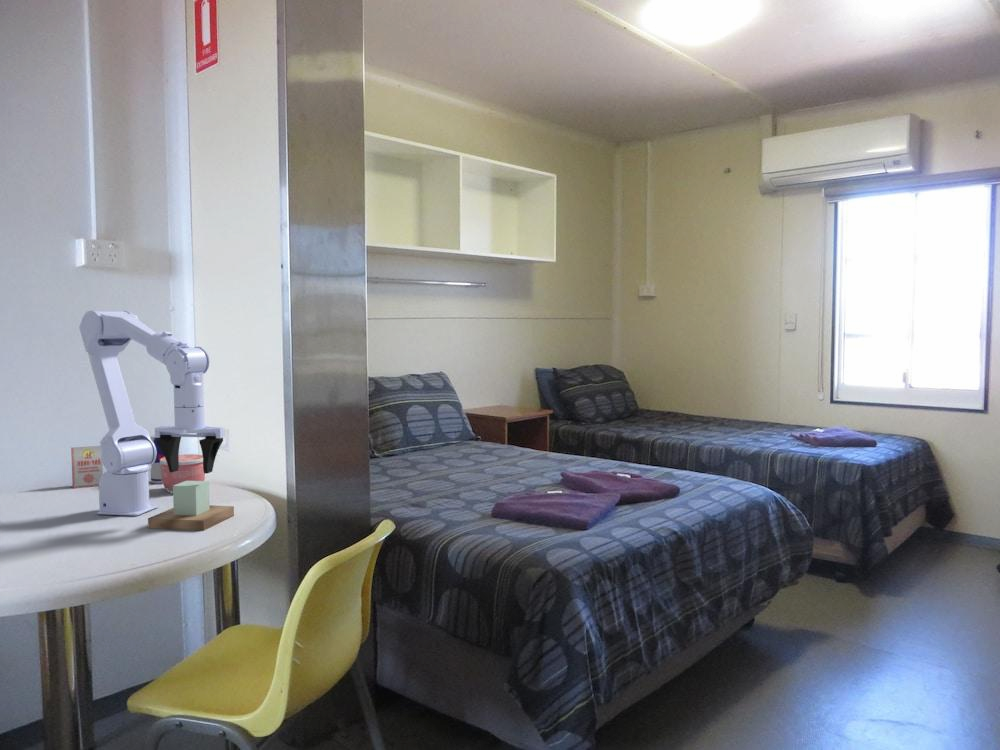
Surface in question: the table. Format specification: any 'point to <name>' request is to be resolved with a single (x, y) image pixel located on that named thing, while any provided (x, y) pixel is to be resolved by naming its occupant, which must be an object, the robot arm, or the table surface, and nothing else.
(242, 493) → the table surface
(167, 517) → the walnut base
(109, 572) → the table surface
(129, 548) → the table surface
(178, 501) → the sage block
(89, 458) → the printed cream box
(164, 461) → the container
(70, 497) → the table surface
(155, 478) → the energy drink
